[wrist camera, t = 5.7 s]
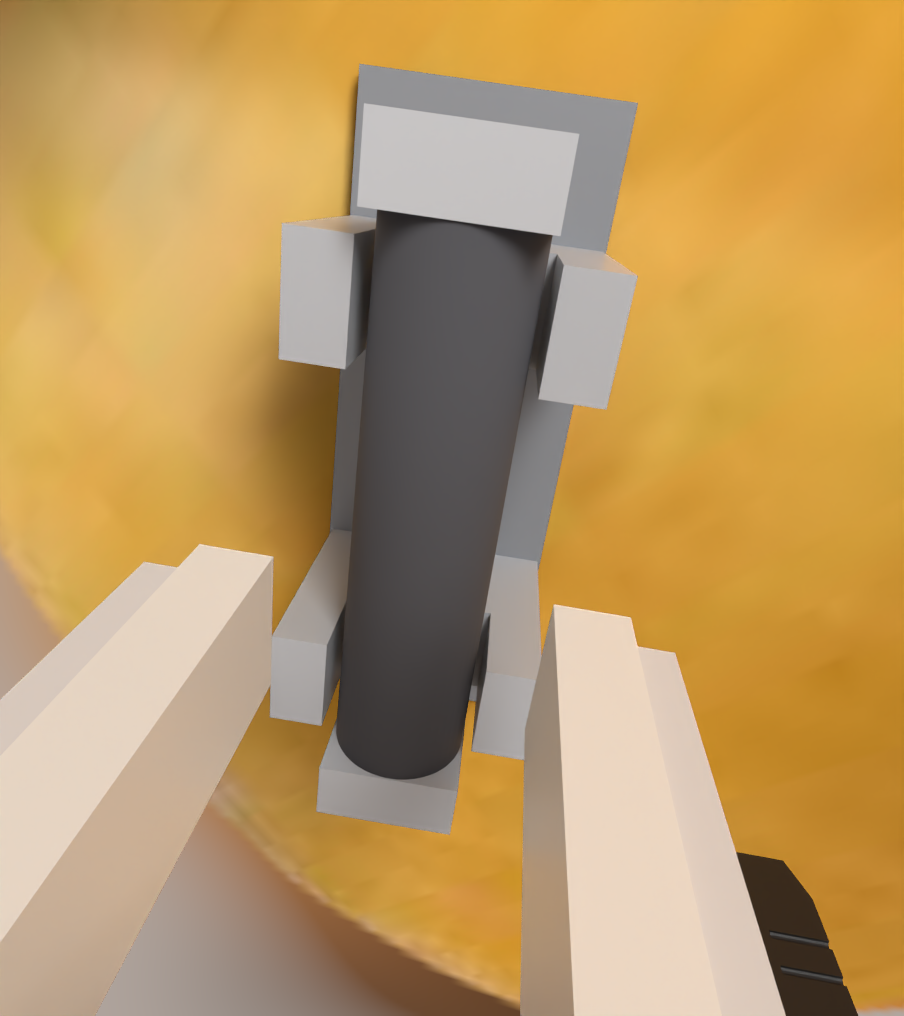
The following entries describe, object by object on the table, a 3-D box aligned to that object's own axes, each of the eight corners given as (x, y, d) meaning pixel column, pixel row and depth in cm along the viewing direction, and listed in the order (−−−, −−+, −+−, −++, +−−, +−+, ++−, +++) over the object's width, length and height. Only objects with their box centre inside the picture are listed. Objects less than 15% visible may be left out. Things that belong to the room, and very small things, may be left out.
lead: (398, 123, 17) (363, 103, 13) (566, 147, 17) (579, 133, 13) (347, 718, 25) (316, 811, 21) (460, 737, 24) (449, 834, 21)
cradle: (363, 67, 20) (282, 0, 13) (634, 105, 20) (694, 57, 13) (324, 666, 29) (264, 810, 23) (509, 697, 29) (505, 852, 22)
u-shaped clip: (199, 544, 13) (-707, 1507, 3) (630, 617, 12) (923, 1903, 3) (203, 672, 14) (-448, 1627, 5) (594, 741, 14) (725, 1913, 4)
